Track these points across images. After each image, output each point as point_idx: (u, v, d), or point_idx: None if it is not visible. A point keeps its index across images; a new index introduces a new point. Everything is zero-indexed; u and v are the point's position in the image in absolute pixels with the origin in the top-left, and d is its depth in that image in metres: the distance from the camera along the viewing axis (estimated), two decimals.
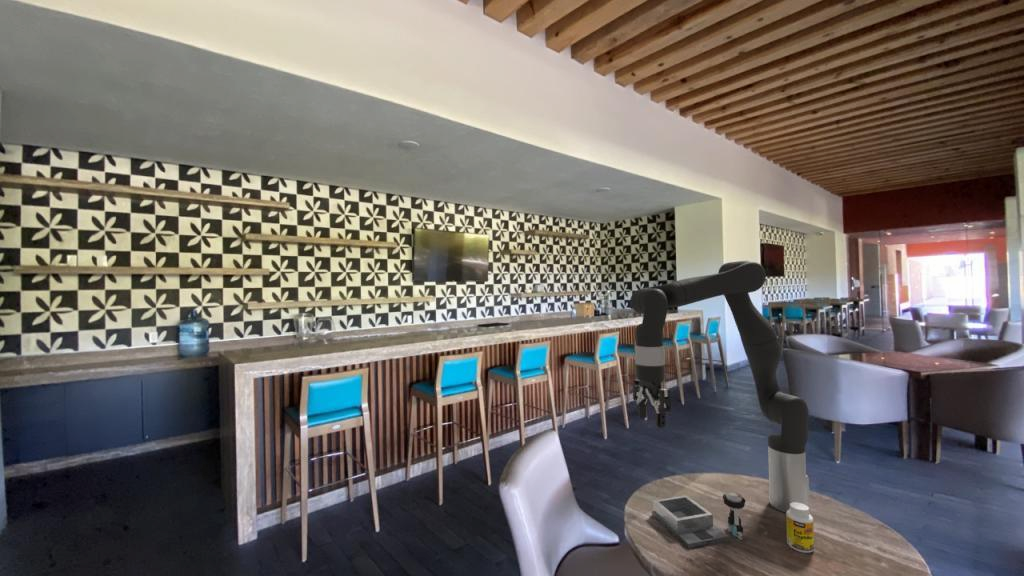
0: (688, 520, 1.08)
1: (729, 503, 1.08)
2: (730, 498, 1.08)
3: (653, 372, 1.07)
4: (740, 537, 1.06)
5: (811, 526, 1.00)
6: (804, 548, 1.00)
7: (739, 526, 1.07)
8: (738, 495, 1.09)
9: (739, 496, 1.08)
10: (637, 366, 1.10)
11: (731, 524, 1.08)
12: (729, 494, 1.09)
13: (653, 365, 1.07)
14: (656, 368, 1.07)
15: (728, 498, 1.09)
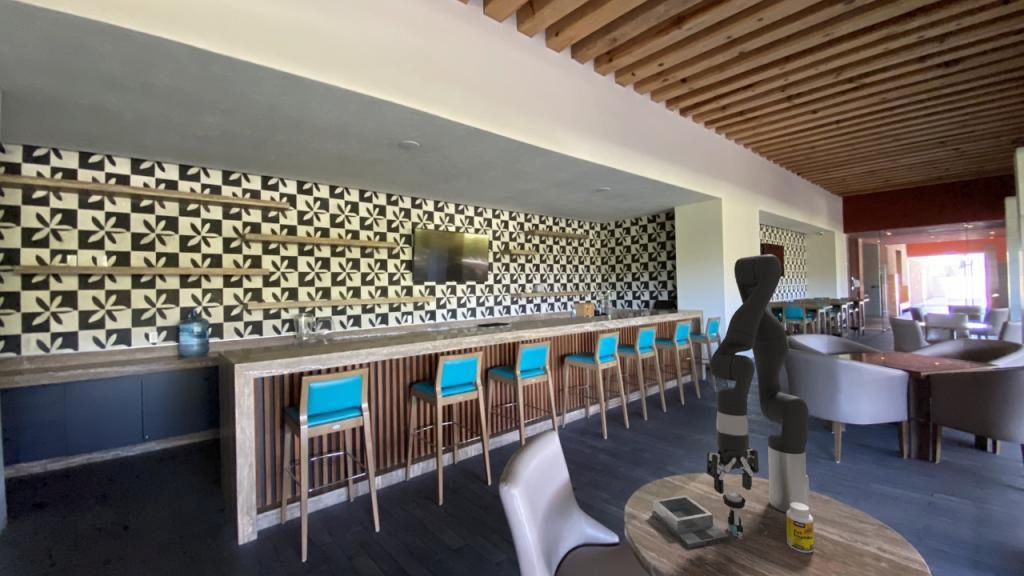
0: (688, 520, 1.08)
1: (729, 503, 1.08)
2: (730, 498, 1.08)
3: None
4: (740, 537, 1.06)
5: (811, 526, 1.00)
6: (804, 548, 1.00)
7: (739, 526, 1.07)
8: (738, 495, 1.09)
9: (739, 496, 1.08)
10: (742, 437, 1.05)
11: (731, 524, 1.08)
12: (729, 494, 1.09)
13: None
14: None
15: (728, 498, 1.09)
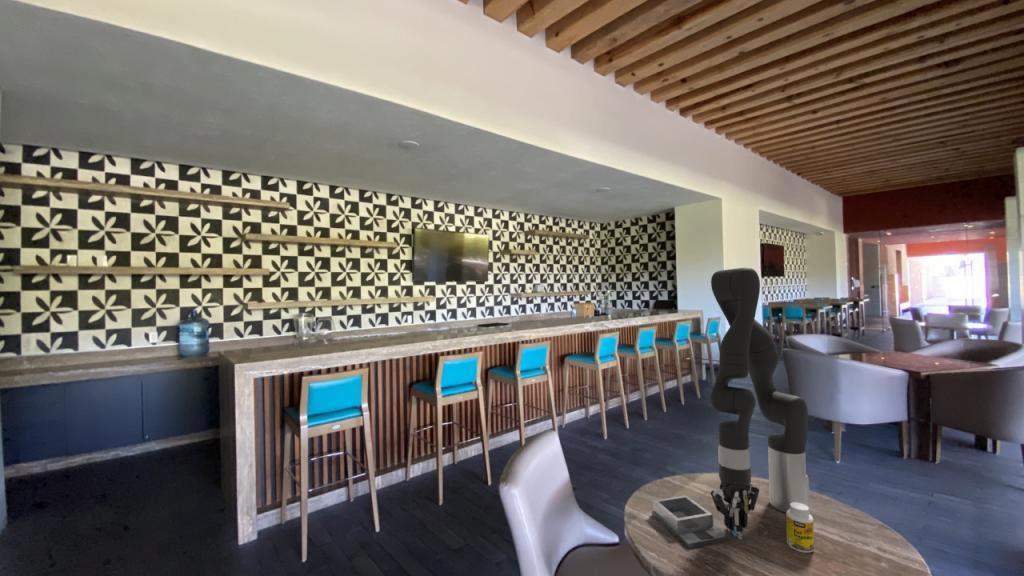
0: (688, 520, 1.08)
1: None
2: None
3: None
4: (740, 537, 1.06)
5: (811, 526, 1.00)
6: (804, 548, 1.00)
7: (739, 526, 1.07)
8: None
9: None
10: (745, 471, 1.05)
11: None
12: None
13: None
14: None
15: None
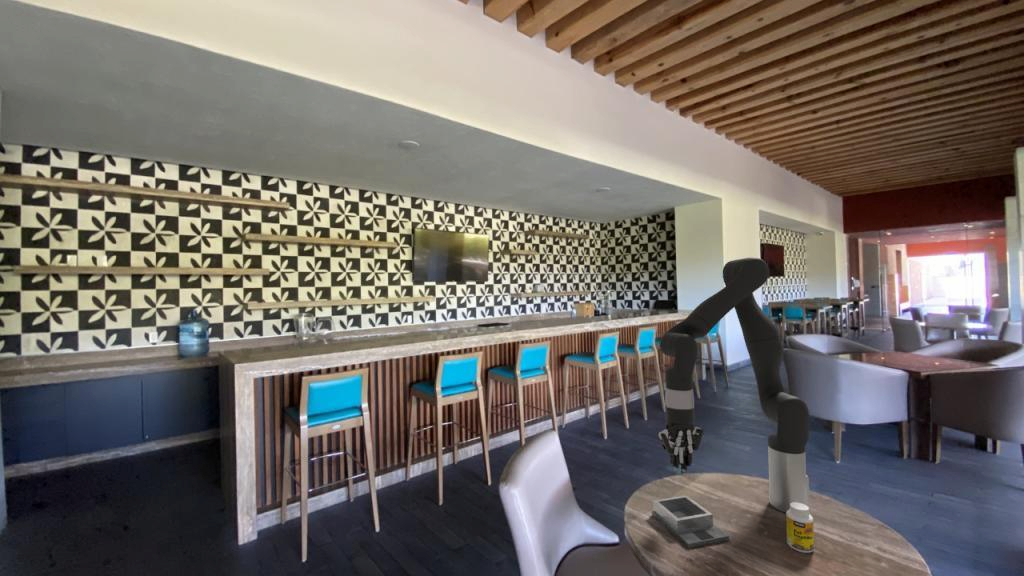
0: (688, 520, 1.08)
1: None
2: None
3: None
4: (684, 474, 1.12)
5: (811, 526, 1.00)
6: (804, 548, 1.00)
7: (683, 464, 1.13)
8: None
9: None
10: (688, 411, 1.11)
11: None
12: None
13: None
14: None
15: None
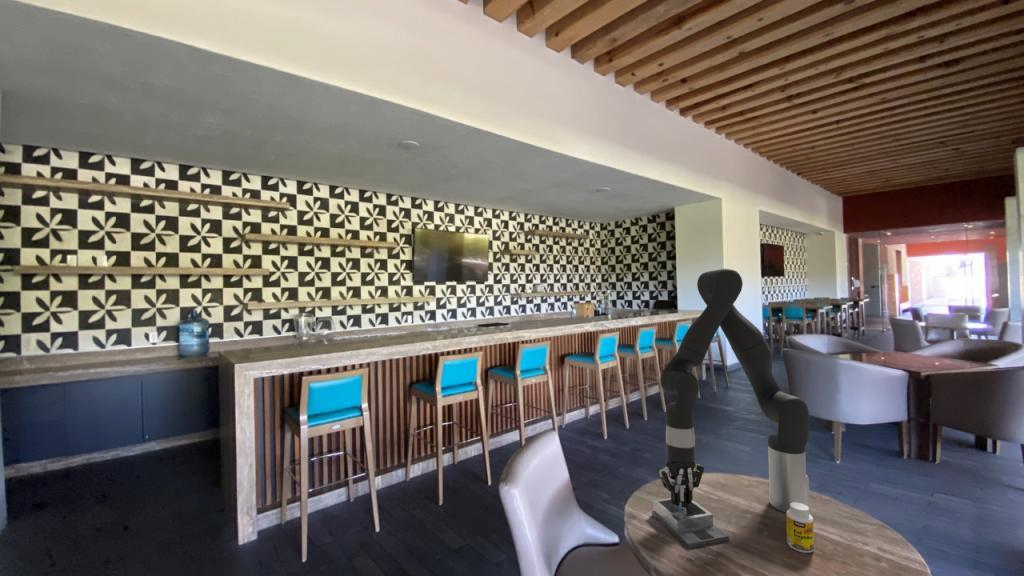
0: (688, 520, 1.08)
1: (675, 480, 1.13)
2: None
3: None
4: (685, 512, 1.12)
5: (811, 526, 1.00)
6: (804, 548, 1.00)
7: (684, 502, 1.13)
8: None
9: None
10: (688, 449, 1.11)
11: None
12: None
13: None
14: None
15: None
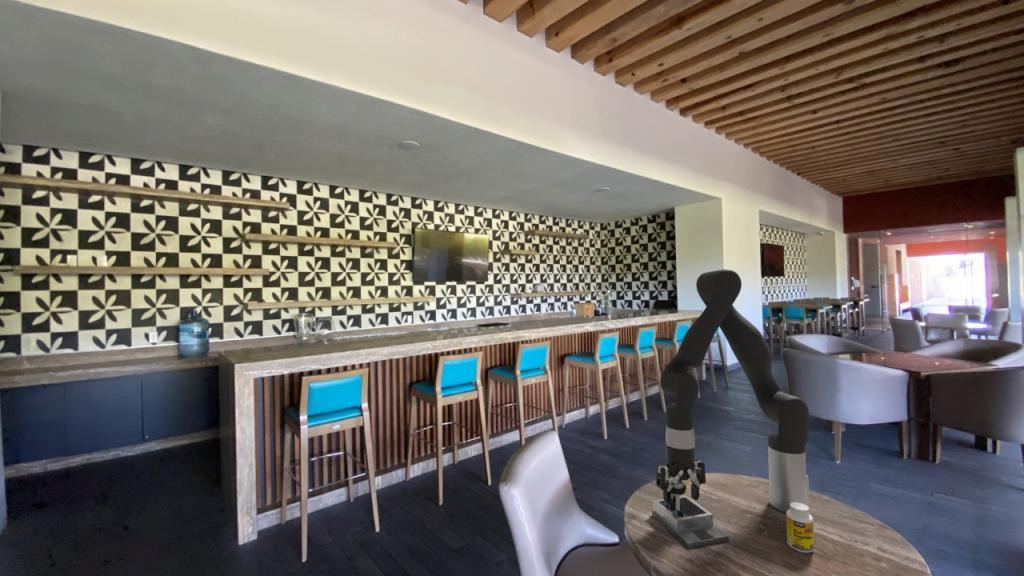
0: (688, 520, 1.08)
1: (671, 489, 1.13)
2: None
3: None
4: None
5: (811, 526, 1.00)
6: (804, 548, 1.00)
7: (680, 511, 1.13)
8: (680, 482, 1.14)
9: (681, 483, 1.14)
10: (688, 451, 1.11)
11: (673, 509, 1.14)
12: None
13: None
14: None
15: None
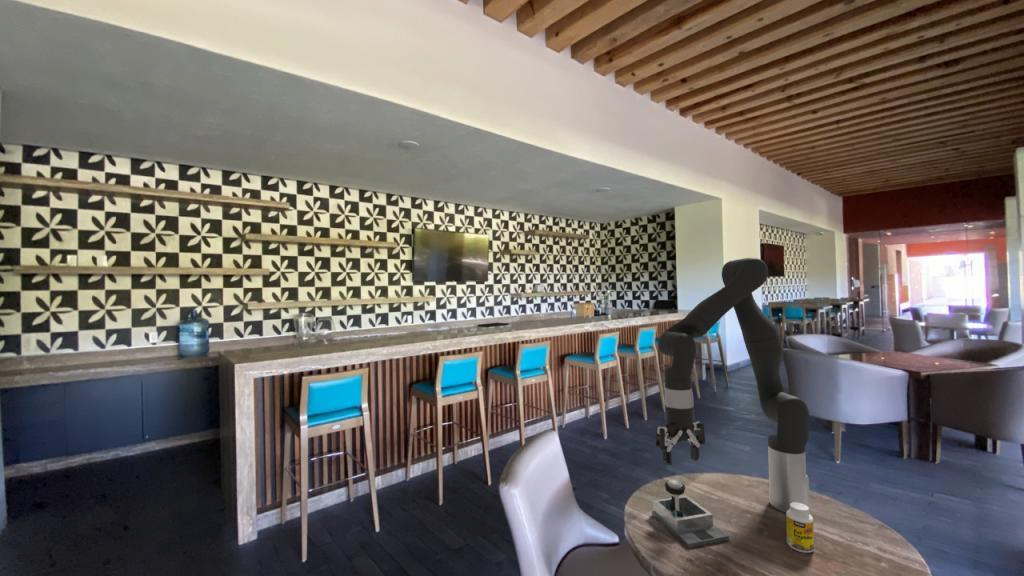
0: (688, 520, 1.08)
1: (670, 490, 1.13)
2: (671, 485, 1.13)
3: None
4: None
5: (811, 526, 1.00)
6: (804, 548, 1.00)
7: (679, 511, 1.13)
8: (678, 482, 1.14)
9: (679, 483, 1.14)
10: (687, 410, 1.11)
11: (672, 510, 1.14)
12: (670, 481, 1.15)
13: None
14: None
15: (669, 485, 1.14)
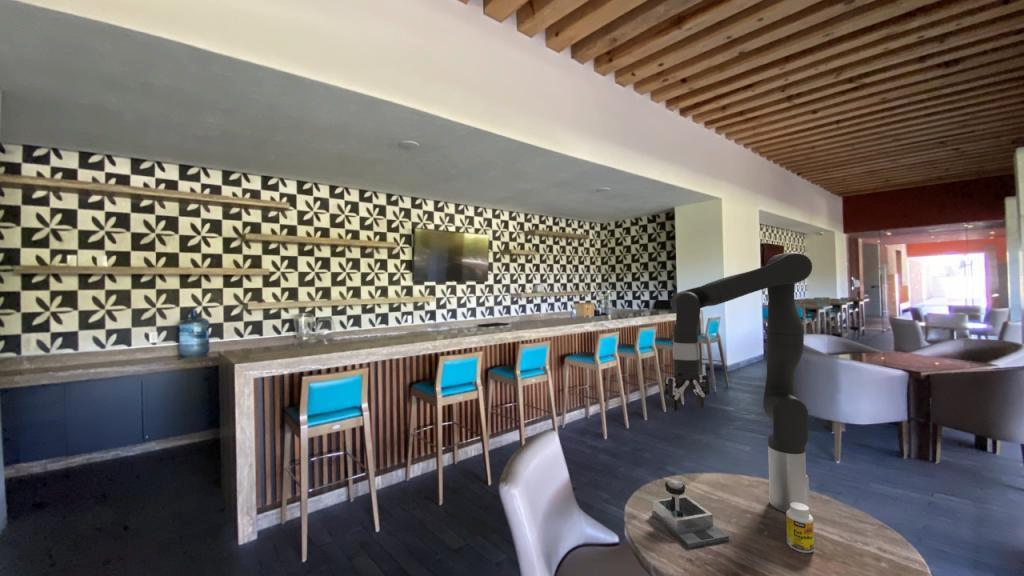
0: (688, 520, 1.08)
1: (670, 490, 1.13)
2: (671, 485, 1.13)
3: None
4: None
5: (811, 526, 1.00)
6: (804, 548, 1.00)
7: (679, 511, 1.13)
8: (679, 482, 1.14)
9: (679, 483, 1.14)
10: (694, 362, 1.21)
11: (672, 510, 1.14)
12: (670, 481, 1.15)
13: None
14: None
15: (669, 485, 1.14)
